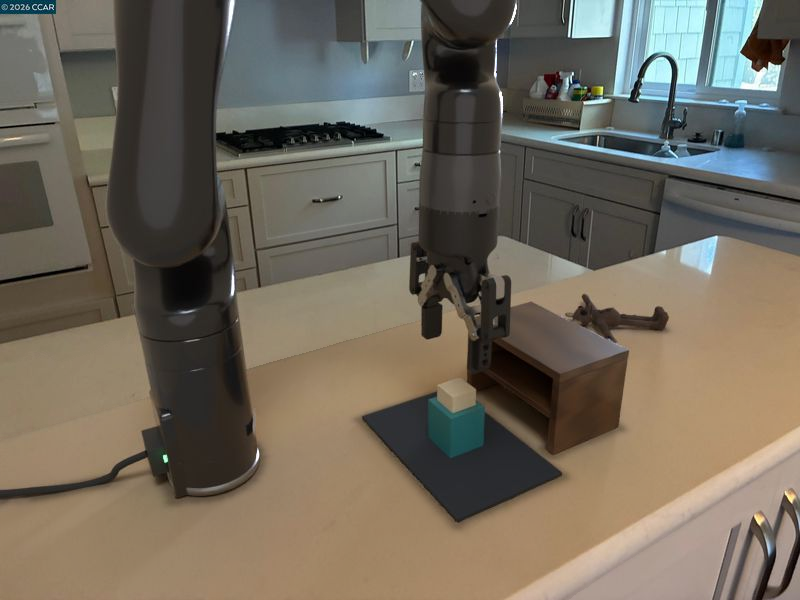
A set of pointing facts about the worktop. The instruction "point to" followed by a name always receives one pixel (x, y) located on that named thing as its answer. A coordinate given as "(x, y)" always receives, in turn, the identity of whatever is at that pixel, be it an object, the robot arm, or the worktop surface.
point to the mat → (461, 460)
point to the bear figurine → (615, 318)
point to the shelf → (558, 373)
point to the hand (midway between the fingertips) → (453, 353)
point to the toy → (456, 418)
